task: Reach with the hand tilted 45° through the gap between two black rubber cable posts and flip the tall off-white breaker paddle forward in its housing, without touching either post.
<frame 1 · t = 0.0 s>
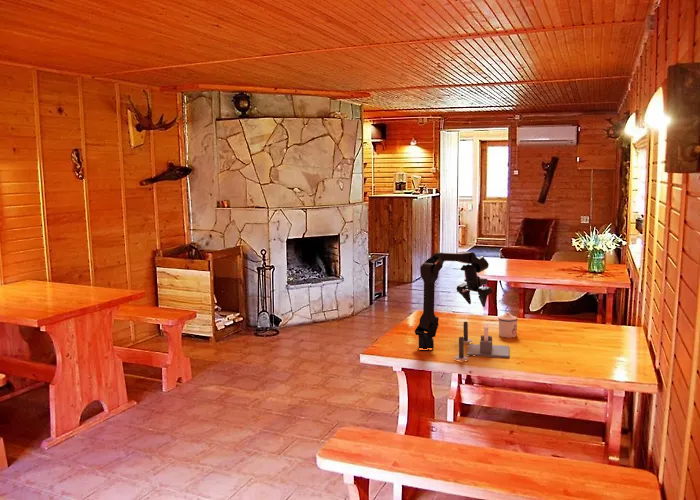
hand: (476, 305, 285), 15 cm above the table, tool pointing down, fingers open, 9 cm apart
cable post 2: (465, 342, 276), on the table
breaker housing: (486, 351, 260), on the table
breaker paddle: (486, 336, 259), point 7 cm above the table, hinge at 0.0°
teacup with lid: (508, 335, 288), on the table
cable post 1: (461, 360, 249), on the table
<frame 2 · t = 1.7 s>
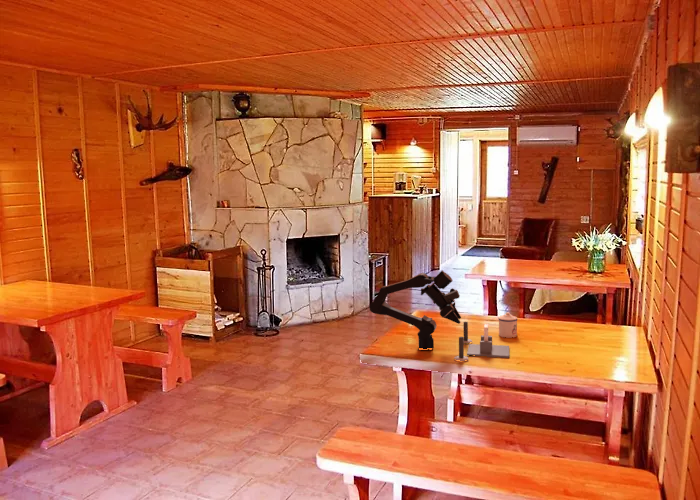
hand: (460, 320, 262), 14 cm above the table, tool tilted 45°, fingers open, 9 cm apart
nothing on the table moved.
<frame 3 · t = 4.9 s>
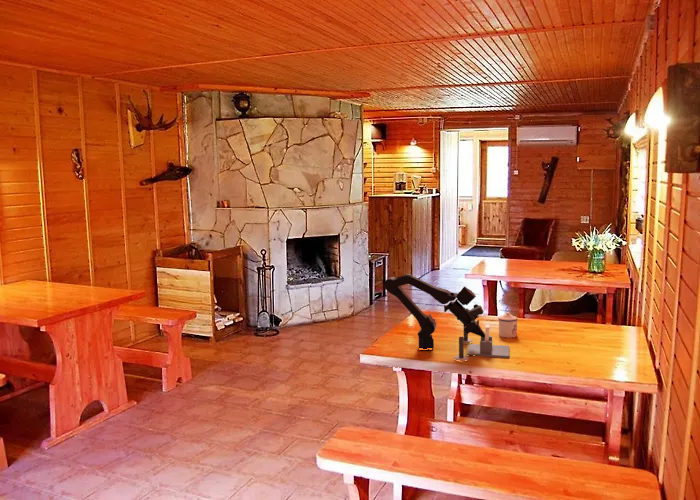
hand: (485, 336, 260), 7 cm above the table, tool tilted 45°, fingers closed, pressing on breaker paddle
breaker paddle: (486, 336, 259), point 7 cm above the table, hinge at 3.8°, touching gripper
everything else where it was.
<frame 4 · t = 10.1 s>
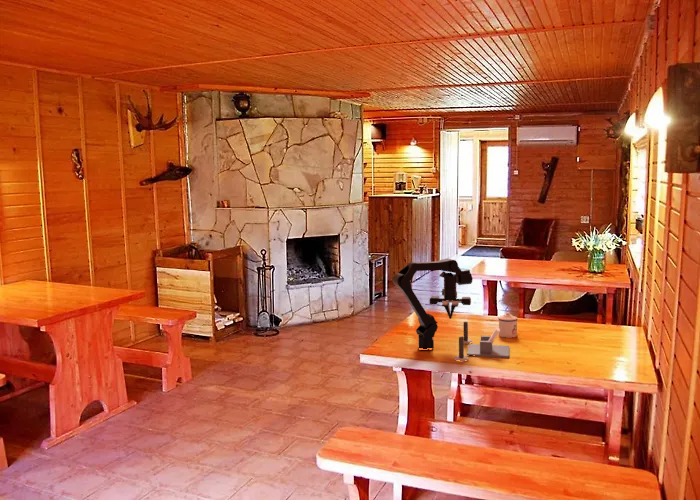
hand: (450, 318, 270), 13 cm above the table, tool pointing down, fingers closed
breaker paddle: (492, 338, 259), point 6 cm above the table, hinge at 29.4°
everything else where it was.
at the end: breaker paddle at +29° (first picture: +0°); cable post 2 moved 0.1 cm from its start; cable post 1 moved 0.1 cm from its start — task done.
